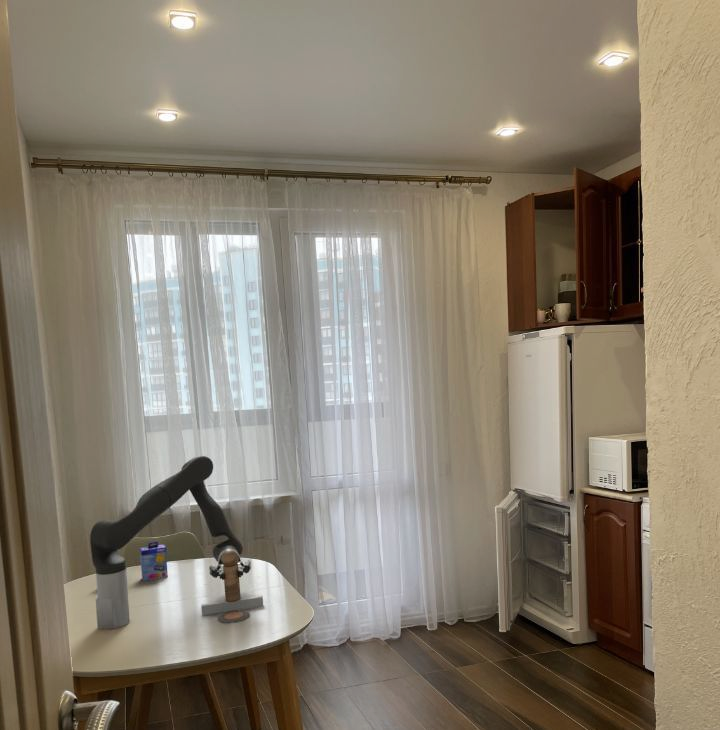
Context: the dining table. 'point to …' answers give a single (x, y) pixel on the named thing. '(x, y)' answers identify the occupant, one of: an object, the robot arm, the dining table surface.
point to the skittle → (231, 576)
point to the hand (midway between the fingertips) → (231, 575)
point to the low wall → (232, 605)
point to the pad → (233, 616)
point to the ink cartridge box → (153, 561)
